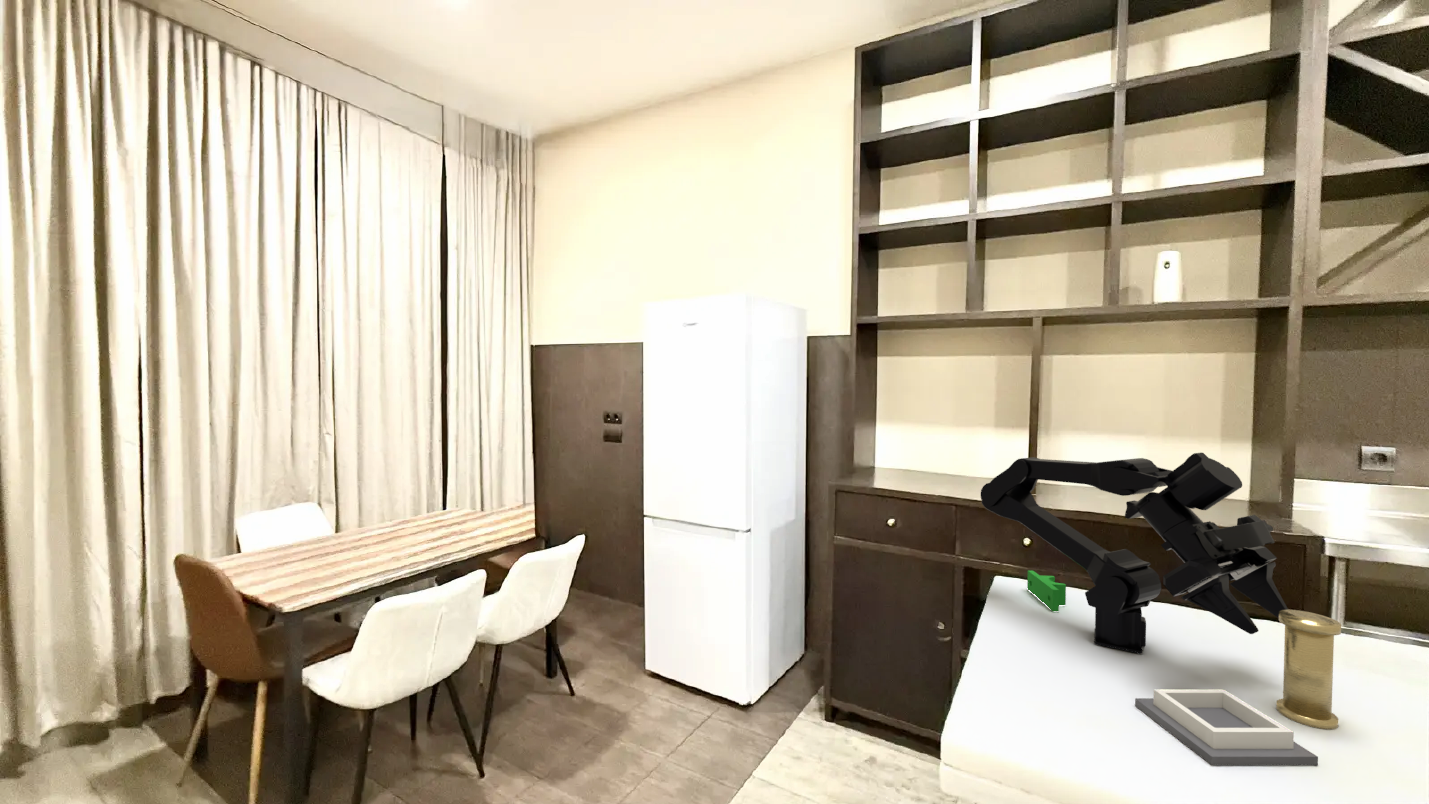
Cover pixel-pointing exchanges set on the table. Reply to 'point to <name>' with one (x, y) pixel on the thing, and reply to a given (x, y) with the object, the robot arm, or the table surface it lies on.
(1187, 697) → the socket plate
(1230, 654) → the table surface
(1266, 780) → the table surface
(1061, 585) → the green notched block
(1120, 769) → the table surface
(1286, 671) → the brass fitting
